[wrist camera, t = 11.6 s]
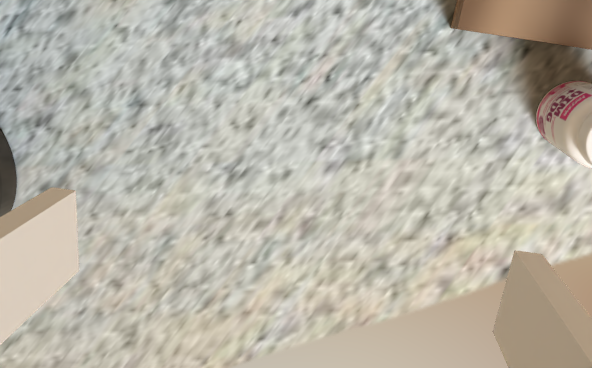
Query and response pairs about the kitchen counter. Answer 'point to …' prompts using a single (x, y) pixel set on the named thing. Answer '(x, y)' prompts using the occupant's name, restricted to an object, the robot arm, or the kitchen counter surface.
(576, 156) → the pill bottle
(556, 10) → the socket block
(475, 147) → the kitchen counter surface
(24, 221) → the robot arm
